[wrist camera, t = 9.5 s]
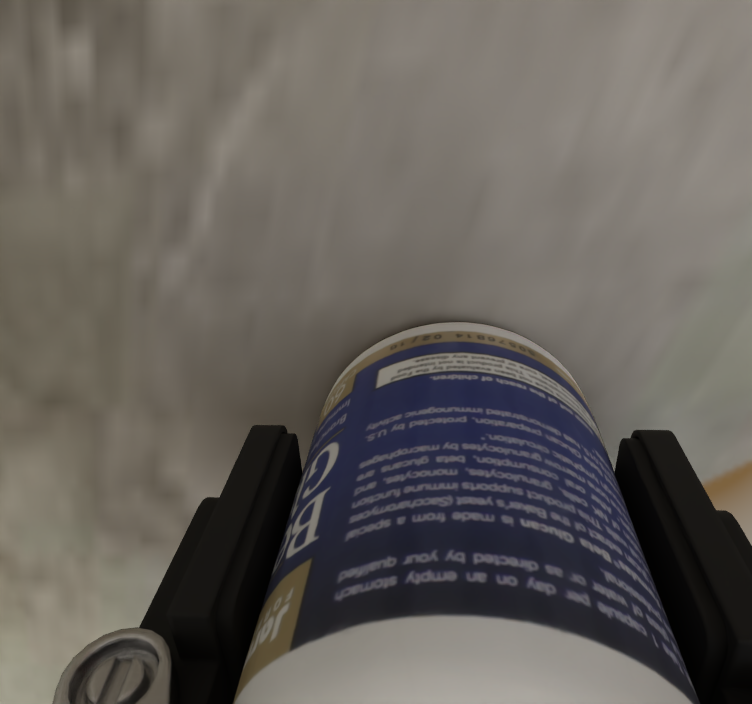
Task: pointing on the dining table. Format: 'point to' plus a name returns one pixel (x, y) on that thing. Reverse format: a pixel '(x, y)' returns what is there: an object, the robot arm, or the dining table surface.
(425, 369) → the pill bottle
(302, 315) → the dining table surface
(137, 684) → the robot arm
